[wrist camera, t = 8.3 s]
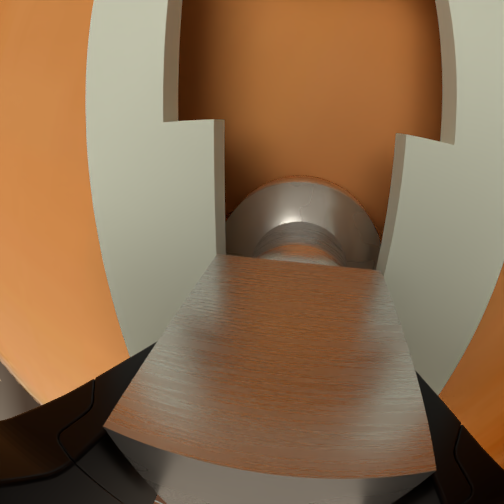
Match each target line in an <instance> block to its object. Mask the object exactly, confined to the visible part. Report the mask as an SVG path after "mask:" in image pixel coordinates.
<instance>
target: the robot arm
mask: <svg viewBox="0 0 504 504" xmlns="http://www.w3.org/2000/svg"><path fill="white" fill-rule="evenodd" d="M156 343H157V342H155V343H153V344H152V345H150V346H148V347H147V348H145V349H143V350H142V351H140V352H138V353H137V354H135V355H133V356H132V357H130V358H128V359H127V360H125V361H123V362H122V363H120V364H118V365H117V366H115V367H113V368H112V369H110V370H108V371H106V372H105V373H103V374H101V375H100V376H98V377H96V379H95V380H94V379H93V380H91V381H89V382H87V383H86V384H84V385H82V386H80V387H78V388H77V389H75V390H73V391H71V392H69V393H67V394H65V395H63V396H61V397H59V398H57V399H55V400H53V401H50V402H48V403H46V404H44V405H41V406H39V407H37V408H34V409H32V410H29V411H27V412H24V413H22V414H19V415H17V416H15V417H12V418H9V419H6V420H2V421H0V504H153V503H154V501H155V499H156V496H157V493H156V492H155V491H154V489H153V488H152V487H151V486H150V485H149V484H148V483H147V482H146V481H145V480H144V478H143V477H142V476H141V475H140V474H139V473H138V471H137V470H136V469H135V468H134V467H133V465H132V464H131V463H130V462H129V461H128V459H127V458H126V457H125V456H124V454H123V453H122V452H121V450H120V449H119V448H118V446H117V445H116V444H115V442H114V441H113V440H112V438H111V437H110V436H109V434H108V433H107V431H106V430H105V428H104V427H103V425H104V424H105V422H106V420H107V419H108V417H109V416H110V414H111V412H112V411H113V409H114V408H115V406H116V405H117V403H118V401H119V400H120V398H121V397H122V395H123V394H124V392H125V390H126V389H127V387H128V386H129V384H130V383H131V381H132V379H133V378H134V376H135V375H136V373H137V372H138V370H139V369H140V367H141V366H142V364H143V363H144V361H145V360H146V358H147V356H148V355H149V353H150V352H151V350H152V349H153V347H154V346H155V344H156ZM415 372H416V375H417V379H418V383H419V387H420V391H421V395H422V399H423V403H424V407H425V411H426V416H427V420H428V425H429V430H430V435H431V440H432V446H433V451H434V458H435V464H436V471H435V472H434V473H433V474H431V475H430V476H429V477H428V478H426V479H425V480H424V481H423V482H421V483H420V484H419V485H417V486H416V487H415V488H413V489H412V490H411V491H409V492H408V493H406V494H405V495H404V496H402V497H401V498H399V499H398V500H396V501H395V502H393V503H392V504H504V470H503V469H502V468H501V467H500V466H499V465H498V464H497V463H496V462H495V461H494V460H493V458H492V457H491V456H490V455H489V454H488V453H487V452H486V451H485V450H484V449H483V448H482V447H481V446H480V444H479V443H478V442H477V441H476V440H475V439H474V438H473V436H472V435H471V434H470V433H469V432H468V430H467V429H466V428H465V427H464V426H463V425H461V422H460V421H459V420H458V419H457V417H456V416H455V415H454V414H453V413H452V412H451V410H450V409H449V408H448V407H447V406H446V405H445V403H444V402H443V401H442V400H441V399H440V398H439V396H438V395H437V394H436V393H435V392H434V391H433V390H432V388H431V387H430V386H429V385H428V384H427V383H426V382H425V380H424V379H423V378H422V377H421V376H420V375H419V374H418V373H417V371H416V370H415Z"/></svg>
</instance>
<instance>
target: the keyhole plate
mask: <svg viewBox="0 0 504 504" xmlns="http://www.w3.org/2000/svg"><path fill="white" fill-rule="evenodd" d="M435 3H436V9H437V16H438V24H439V33H440V43H441V58H442V121H441V136H440V142H439V141H435V140H431V139H426V138H422V137H417V136H412V135H407V134H400V133H396V138H395V150H394V161H393V170H392V179H391V187H390V194H389V201H388V208H387V214H386V220H385V226H384V232H383V237H382V242H381V247H380V252H379V257H378V262H377V266H376V270H381V272H382V275H383V277H384V280H385V282H386V285H387V288H388V290H389V293H390V296H391V298H392V301H393V304H394V306H395V309H396V312H397V315H398V318H399V321H400V324H401V326H402V329H403V332H404V336H405V339H406V342H407V345H408V348H409V351H410V355H411V358H412V361H413V365H414V368H415V370H416V371H417V373H418V374H419V375H420V376H421V377H422V378H423V379H424V380H425V382H426V383H427V384H428V385H429V386H430V387H431V388H432V390H433V391H434V392H435V393H436V394H437V395H439V394H440V392H441V391H442V389H443V387H444V386H445V384H446V383H447V381H448V380H449V378H450V376H451V375H452V373H453V371H454V370H455V368H456V366H457V365H458V363H459V361H460V359H461V358H462V356H463V354H464V352H465V350H466V349H467V347H468V345H469V343H470V341H471V339H472V337H473V335H474V333H475V331H476V329H477V327H478V325H479V323H480V321H481V318H482V316H483V314H484V312H485V309H486V307H487V305H488V302H489V300H490V298H491V295H492V293H493V290H494V288H495V285H496V282H497V280H498V277H499V274H500V271H501V268H502V265H503V262H504V0H435ZM181 12H182V0H94V3H93V9H92V16H91V23H90V31H89V41H88V52H87V68H86V136H87V153H88V165H89V175H90V185H91V193H92V201H93V208H94V214H95V221H96V227H97V232H98V238H99V243H100V248H101V253H102V258H103V263H104V267H105V272H106V276H107V280H108V284H109V288H110V292H111V296H112V300H113V303H114V307H115V311H116V314H117V318H118V321H119V324H120V328H121V331H122V334H123V337H124V340H125V343H126V346H127V349H128V352H129V355H130V357H132V356H133V355H135V354H137V353H138V352H140V351H142V350H143V349H145V348H147V347H148V346H150V345H152V344H153V343H155V342H157V341H158V340H159V338H160V337H161V335H162V334H163V332H164V331H165V329H166V328H167V326H168V325H169V323H170V322H171V320H172V319H173V317H174V316H175V314H176V313H177V311H178V310H179V309H180V307H181V306H182V304H183V303H184V301H185V300H186V298H187V297H188V295H189V294H190V292H191V291H192V290H193V288H194V287H195V285H196V284H197V282H198V281H199V279H200V278H201V276H202V275H203V274H204V272H205V271H206V269H207V268H208V266H209V265H210V264H211V262H212V261H213V259H214V258H215V256H216V255H217V254H222V255H226V236H225V120H222V119H207V120H187V121H178V76H179V46H180V27H181Z"/></svg>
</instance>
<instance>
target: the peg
mask: <svg viewBox="0 0 504 504" xmlns="http://www.w3.org/2000/svg"><path fill="white" fill-rule="evenodd" d="M225 236H226V255H222V254H217V255H216V256H215V258H214V259H213V261H212V262H211V264H210V265H209V266H208V268H207V269H206V271H205V272H204V274H203V275H202V276H201V278H200V279H199V281H198V282H197V284H196V285H195V287H194V288H193V290H192V291H191V292H190V294H189V295H188V297H187V298H186V300H185V301H184V303H183V304H182V306H181V307H180V309H179V310H178V311H177V313H176V314H175V316H174V317H173V319H172V320H171V322H170V323H169V325H168V326H167V328H166V329H165V331H164V332H163V334H162V335H161V337H160V338H159V340H158V341H157V343H156V344H155V346H154V347H153V349H152V350H151V352H150V353H149V355H148V356H147V358H146V360H145V361H144V363H143V364H142V366H141V367H140V369H139V370H138V372H137V373H136V375H135V376H134V378H133V379H132V381H131V383H130V384H129V386H128V387H127V389H126V390H125V392H124V394H123V395H122V397H121V398H120V400H119V401H118V403H117V405H116V406H115V408H114V409H113V411H112V412H111V414H110V416H109V417H108V419H107V420H106V422H105V424H104V425H103V427H104V428H105V430H106V431H107V433H108V434H109V436H110V437H111V438H112V440H113V441H114V442H115V444H116V445H117V446H118V448H119V449H120V450H121V452H122V453H123V454H124V456H125V457H126V458H127V459H128V461H129V462H130V463H131V464H132V465H133V467H134V468H135V469H136V470H137V471H138V473H139V474H140V475H141V476H142V477H143V478H144V480H145V481H146V482H147V483H148V484H149V485H150V486H151V487H152V488H153V489H154V491H155V492H156V493H157V494H158V495H159V496H160V497H161V498H162V499H163V500H164V501H165V502H166V503H167V504H392V503H393V502H395V501H396V500H398V499H399V498H401V497H402V496H404V495H405V494H406V493H408V492H409V491H411V490H412V489H413V488H415V487H416V486H417V485H419V484H420V483H421V482H423V481H424V480H425V479H426V478H428V477H429V476H430V475H431V474H433V473H434V472H435V471H436V464H435V458H434V451H433V446H432V440H431V435H430V430H429V425H428V420H427V416H426V411H425V407H424V403H423V399H422V395H421V391H420V387H419V383H418V379H417V375H416V372H415V368H414V365H413V361H412V358H411V355H410V351H409V348H408V345H407V342H406V339H405V336H404V332H403V329H402V326H401V324H400V321H399V318H398V315H397V312H396V309H395V306H394V304H393V301H392V298H391V296H390V293H389V290H388V288H387V285H386V282H385V280H384V277H383V275H382V272H381V270H376V266H377V262H378V257H379V252H380V247H381V243H380V239H379V236H378V233H377V231H376V229H375V227H374V225H373V223H372V221H371V219H370V218H369V216H368V214H367V213H366V211H365V210H364V208H363V207H362V205H361V204H360V203H359V202H358V201H357V199H356V198H355V197H354V196H352V195H351V194H350V193H349V192H348V191H346V190H345V189H343V188H342V187H340V186H339V185H337V184H334V183H332V182H330V181H328V180H325V179H321V178H318V177H312V176H288V177H282V178H278V179H275V180H272V181H270V182H267V183H265V184H263V185H261V186H260V187H258V188H256V189H255V190H254V191H252V192H251V193H250V194H249V195H248V196H247V197H246V198H245V199H244V200H243V201H242V202H241V203H240V204H239V205H238V206H237V208H236V209H235V210H234V211H233V212H232V214H231V215H230V216H229V218H228V219H227V221H226V223H225Z"/></svg>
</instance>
